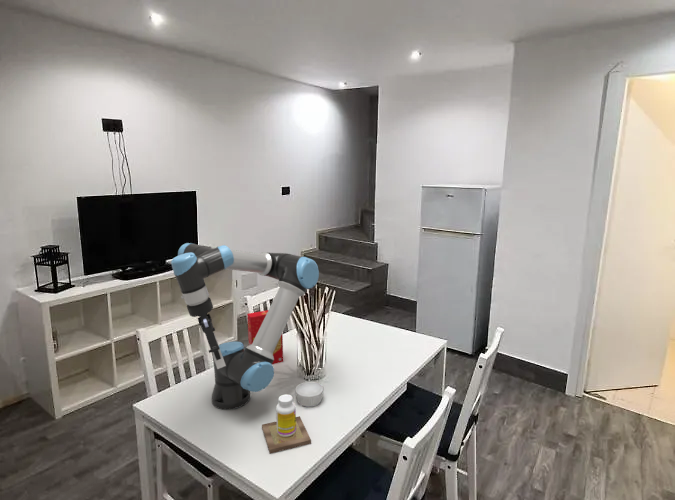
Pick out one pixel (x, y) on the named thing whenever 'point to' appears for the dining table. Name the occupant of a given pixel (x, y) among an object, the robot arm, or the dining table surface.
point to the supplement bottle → (286, 416)
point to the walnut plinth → (284, 443)
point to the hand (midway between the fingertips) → (218, 358)
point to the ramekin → (309, 393)
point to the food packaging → (253, 328)
